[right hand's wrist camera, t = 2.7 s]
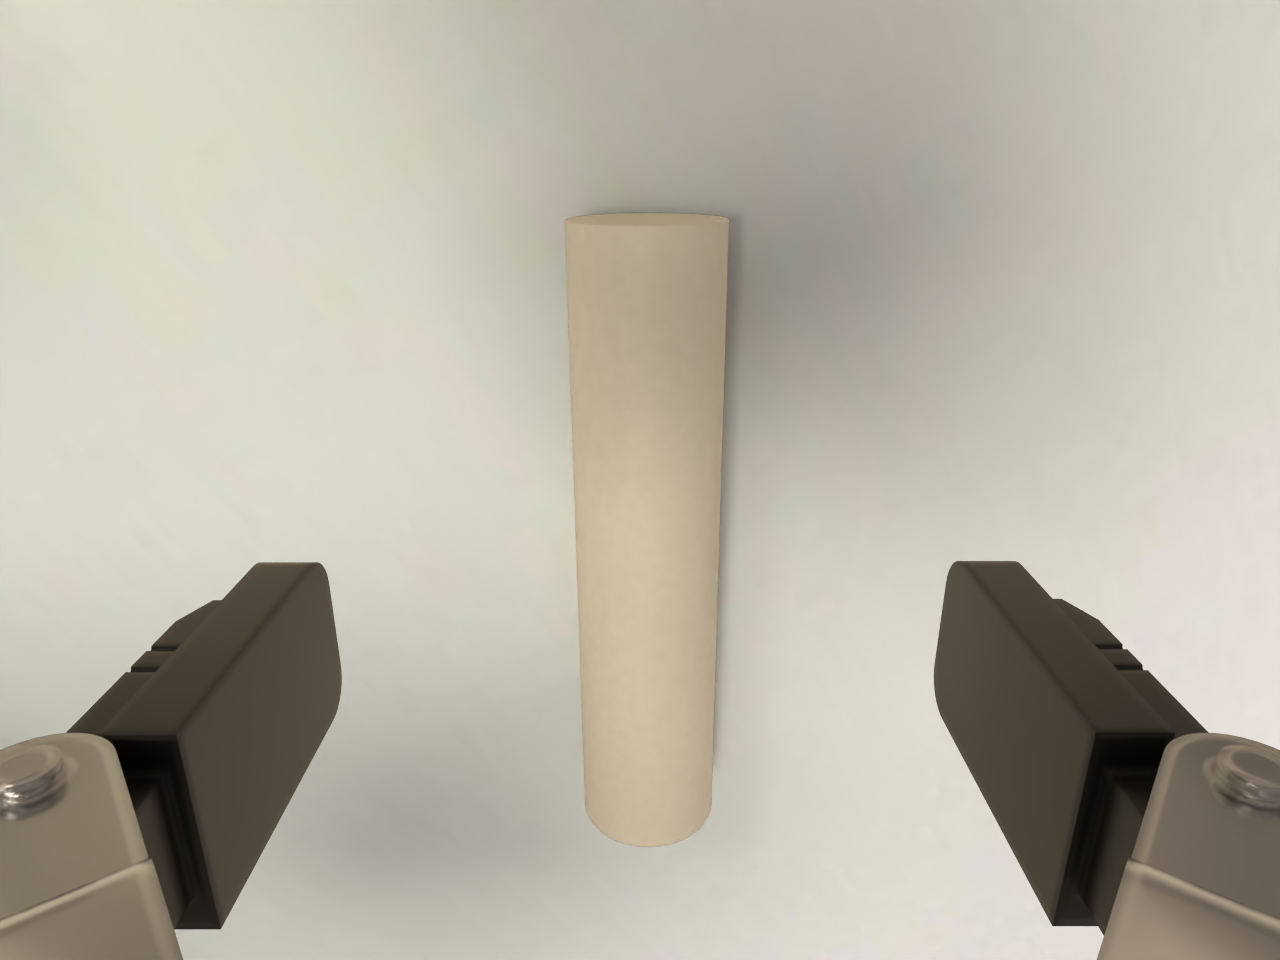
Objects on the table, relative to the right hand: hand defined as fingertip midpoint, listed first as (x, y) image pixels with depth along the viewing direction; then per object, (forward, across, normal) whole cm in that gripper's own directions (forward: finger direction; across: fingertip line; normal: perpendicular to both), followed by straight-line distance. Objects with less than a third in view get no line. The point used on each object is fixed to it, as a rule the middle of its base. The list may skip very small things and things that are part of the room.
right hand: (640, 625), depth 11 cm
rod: (+22, 0, -8) cm, 24 cm away
